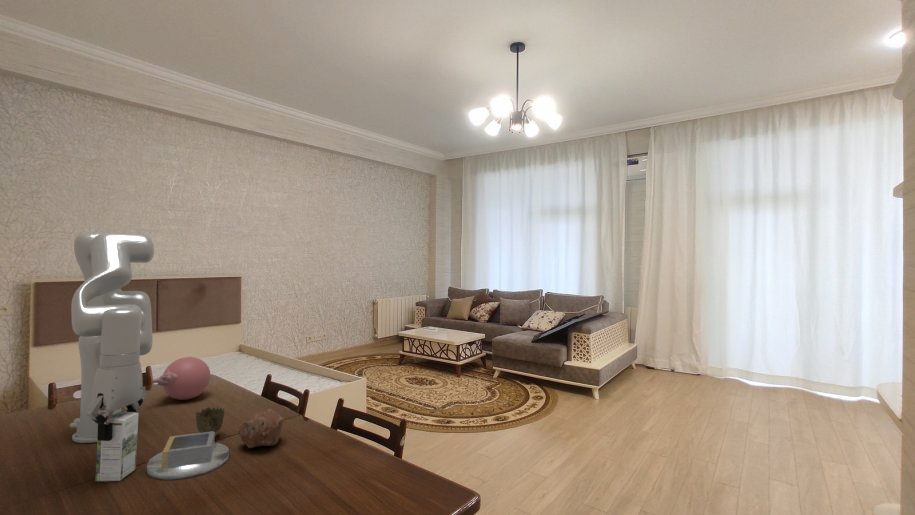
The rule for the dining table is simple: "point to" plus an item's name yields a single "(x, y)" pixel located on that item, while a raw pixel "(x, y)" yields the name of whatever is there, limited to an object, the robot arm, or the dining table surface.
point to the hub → (188, 457)
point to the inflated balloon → (185, 378)
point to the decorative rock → (261, 429)
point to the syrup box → (118, 448)
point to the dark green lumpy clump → (210, 420)
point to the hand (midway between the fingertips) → (117, 433)
